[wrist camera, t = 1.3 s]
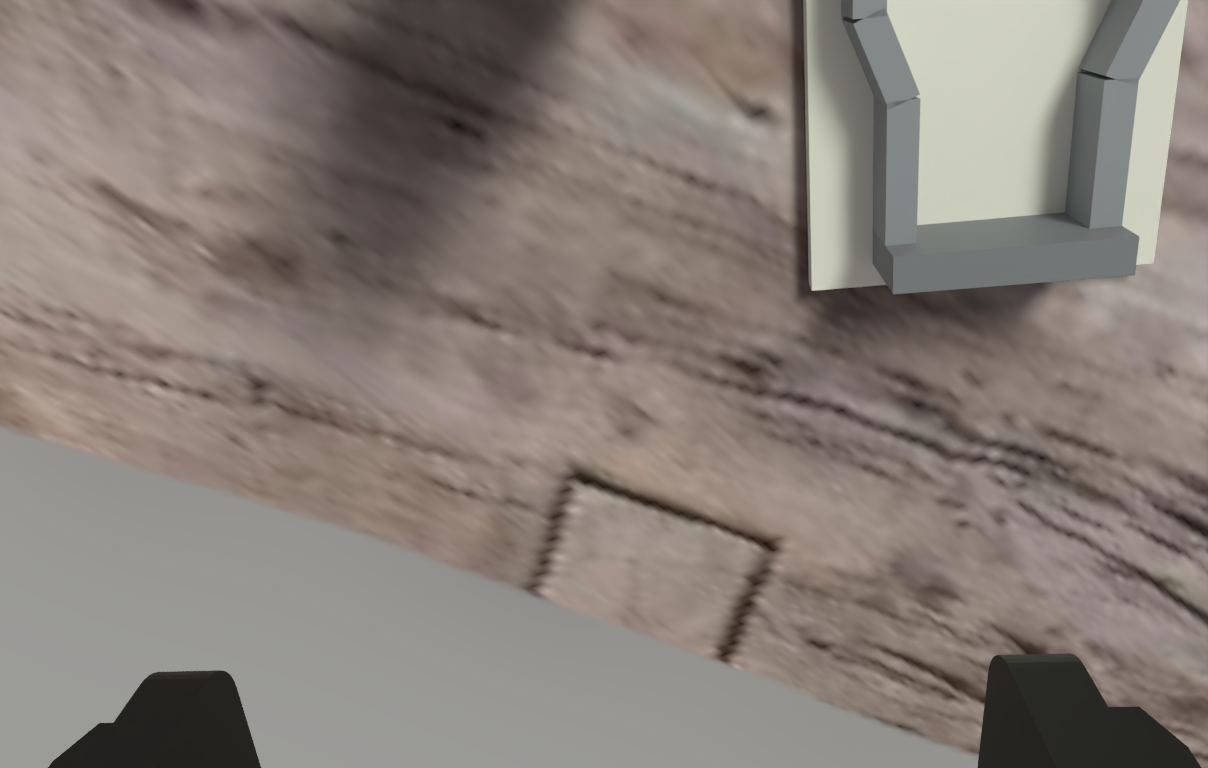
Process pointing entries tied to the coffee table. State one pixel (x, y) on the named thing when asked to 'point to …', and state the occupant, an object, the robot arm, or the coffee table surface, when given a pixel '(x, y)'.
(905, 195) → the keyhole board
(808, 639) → the coffee table surface
